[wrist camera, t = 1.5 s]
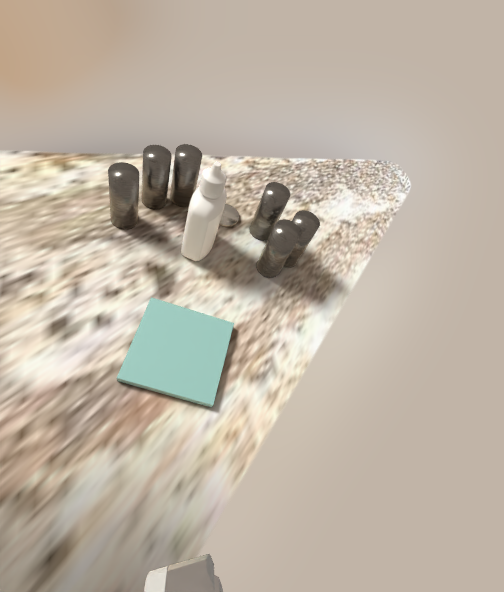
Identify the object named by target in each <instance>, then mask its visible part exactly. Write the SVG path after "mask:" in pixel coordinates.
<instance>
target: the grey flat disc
mask: <svg viewBox="0 0 504 592" xmlns="http://www.w3.org/2000/svg"><path fill="white" fill-rule="evenodd" d="M238 220H239V213H238V211H237V210H236V209H235V208H234V207H233V206H231V205H228V204H225V206H224V210H223V213H222V217H221V220H220V224H219V225H221V226H224V227H232V226H234V225H236V224H237V223H238Z"/></svg>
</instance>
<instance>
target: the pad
mask: <svg viewBox="0 0 504 592" xmlns="http://www.w3.org/2000/svg"><path fill="white" fill-rule="evenodd" d="M233 325H234V323H231V322H228V321H225V320H222V319H219V318H215V317H212V316H209V315H206V314H203V313H199V312H196V311H193V310H190V309H187V308H183V307H180V306H177V305H174V304H171V303H167V302H164V301H161V300H158V299H155V298H151V299H150V301H149V304H148V306H147V308H146V311H145V313H144V315H143V318H142V320H141V322H140V325H139V327H138V330H137V332H136V334H135V337H134V339H133V341H132V344H131V346H130V348H129V351H128V353H127V355H126V358H125V360H124V362H123V365H122V367H121V369H120V372H119V374H118V376H117V381H119V382H123V383H126V384H130V385H133V386H137V387H140V388H144V389H147V390H151V391H155V392H158V393H162V394H165V395H169V396H172V397H176V398H179V399H183V400H186V401H190V402H194V403H197V404H201V405H204V406H208V407H211V408H212V406H213V404H214V400H215V396H216V392H217V388H218V384H219V380H220V376H221V372H222V368H223V364H224V361H225V357H226V353H227V349H228V345H229V341H230V337H231V333H232V329H233Z"/></svg>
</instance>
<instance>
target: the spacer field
mask: <svg viewBox="0 0 504 592" xmlns="http://www.w3.org/2000/svg"><path fill="white" fill-rule="evenodd" d="M201 159H202V153H201V151H200V150H199V149H198V148H196V147H194V146H192V145H188V144H184V145H180V146H178V147H177V148H176V152H175V160H174V168H173V176H172V185H171V193H170V199H171V201H172V202H173V203H174V204H176V205H178V206H181V207H186V206H189V204H190V201H191V198H192V195H193V193H194V192H195V190H196V185H197V180H198V175H199V170H200V164H201ZM170 165H171V153H170V151H169V150H168V149H166V148H165V147H162V146H159V145H150V146H147V147H146V148H145V149H144V151H143V175H142V203H143V204H144V205H145V206H146V207H148V208H150V209H161V208H163V207H164V206H165V205H166V200H167V191H168V182H169V174H170ZM108 176H109V194H110V212H111V222H112V223H113V225H114V226H116V227H117V228H120V229H131V228H133V227H135V226H136V225H137V223H138V198H139V171H138V169H137V168H136V167H135V166H133V165H131V164H128V163H115V164H113V165H111V166H110V167H109V170H108ZM289 197H290V191H289V190H288V188H287V187H285V186H284V185H282V184H280V183H277V182H271V183H269V184H267V186H266V188H265V191H264V193H263V196H262V198H261V201H260V203H259V206H258V208H257V211H256V213H255V216H254V218H253V221H252V223H251V226H250V233H251V234H252V236H254V237H255V238H257V239H259V240H267V239H268V241H267V243H266V245H265V247H264V249H263V251H262V253H261V256H260V258H259V260H258V262H257V270H258V271H259V273H260V274H262V275H263V276H265V277H268V278H273V277H276V276H277V275H278V274H279V272H280V271H281V269H282V267H283V266H284V267H293V266H295V265H296V263H297V262H298V260H299V258H300V257H301V255H302V254H303V252H304V250H305V249H306V247H307V246H308V244H309V242H310V241H311V239H312V237H313V236H314V234H315V233H316V231H317V229H318V228H319V226H320V222H319V219H318V218H317V217H316V216H315V215H314V214H313V213H311V212H309V211H303V210H302V211H298V212H297V213H296V215H295V216H294V218H293V220H292V221H289V220H279V218H280V216H281V214H282V212H283V210H284V208H285V206H286V204H287V202H288V200H289ZM278 220H279V221H278Z"/></svg>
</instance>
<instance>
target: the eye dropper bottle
mask: <svg viewBox="0 0 504 592" xmlns="http://www.w3.org/2000/svg"><path fill="white" fill-rule="evenodd" d="M226 179H227V177H226V175H225V173H224V172H223V171H222V170H221V163H220V162H218V161H215V162H214V163H213V165H212V167H209V168H206V169H204V170H203V172H202V176H201V181H200V186H199V187H198V188H197V189H196V190H195V192H194V193H193V195H192V198H191V201H190V204H189V210H188V215H187V220H186V225H185V231H184V236H183V241H182V247H181V253H182V255H183V256H185V257H187V258H189V259H192V260H194V261H200V260H201V259H203V258H204V257H205V256H206V255H207V254H208V253H209V252H210V250H211V249H212V246H213V244H214V241H215V237H216V234H217V230H218V227H219V224H220V220H221V217H222V213H223V210H224V206H225V203H226V189H225V188H224V187H225V183H226Z"/></svg>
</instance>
